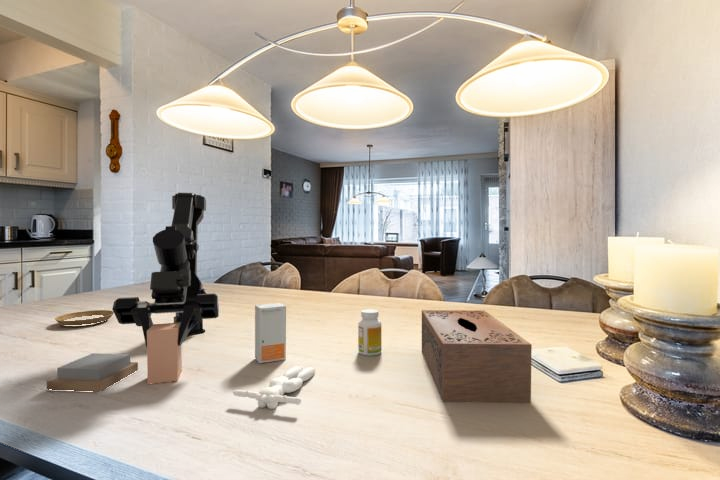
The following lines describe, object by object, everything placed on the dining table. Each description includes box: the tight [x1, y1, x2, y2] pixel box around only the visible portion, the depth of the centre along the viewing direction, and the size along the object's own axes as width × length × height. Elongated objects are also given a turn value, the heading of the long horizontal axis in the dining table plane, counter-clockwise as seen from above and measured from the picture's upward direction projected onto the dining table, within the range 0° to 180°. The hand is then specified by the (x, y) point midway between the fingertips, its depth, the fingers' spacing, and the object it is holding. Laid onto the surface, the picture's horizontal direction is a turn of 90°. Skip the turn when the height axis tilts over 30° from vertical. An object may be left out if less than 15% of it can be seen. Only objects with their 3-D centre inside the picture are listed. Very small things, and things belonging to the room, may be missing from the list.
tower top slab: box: [56, 352, 131, 380], centre depth 71 cm, size 8×8×2 cm
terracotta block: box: [146, 322, 183, 385], centre depth 72 cm, size 5×5×10 cm
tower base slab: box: [46, 361, 139, 393], centre depth 71 cm, size 10×10×2 cm
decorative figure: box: [232, 365, 316, 410], centre depth 67 cm, size 4×12×18 cm
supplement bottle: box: [357, 308, 383, 357], centre depth 87 cm, size 5×5×10 cm
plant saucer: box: [54, 309, 115, 326], centre depth 115 cm, size 15×15×3 cm
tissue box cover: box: [421, 309, 532, 404], centre depth 74 cm, size 26×14×10 cm, turn 178°
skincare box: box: [254, 302, 287, 364], centre depth 82 cm, size 6×4×12 cm
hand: (163, 346), depth 71 cm, fingers closed on terracotta block, 5 cm apart
